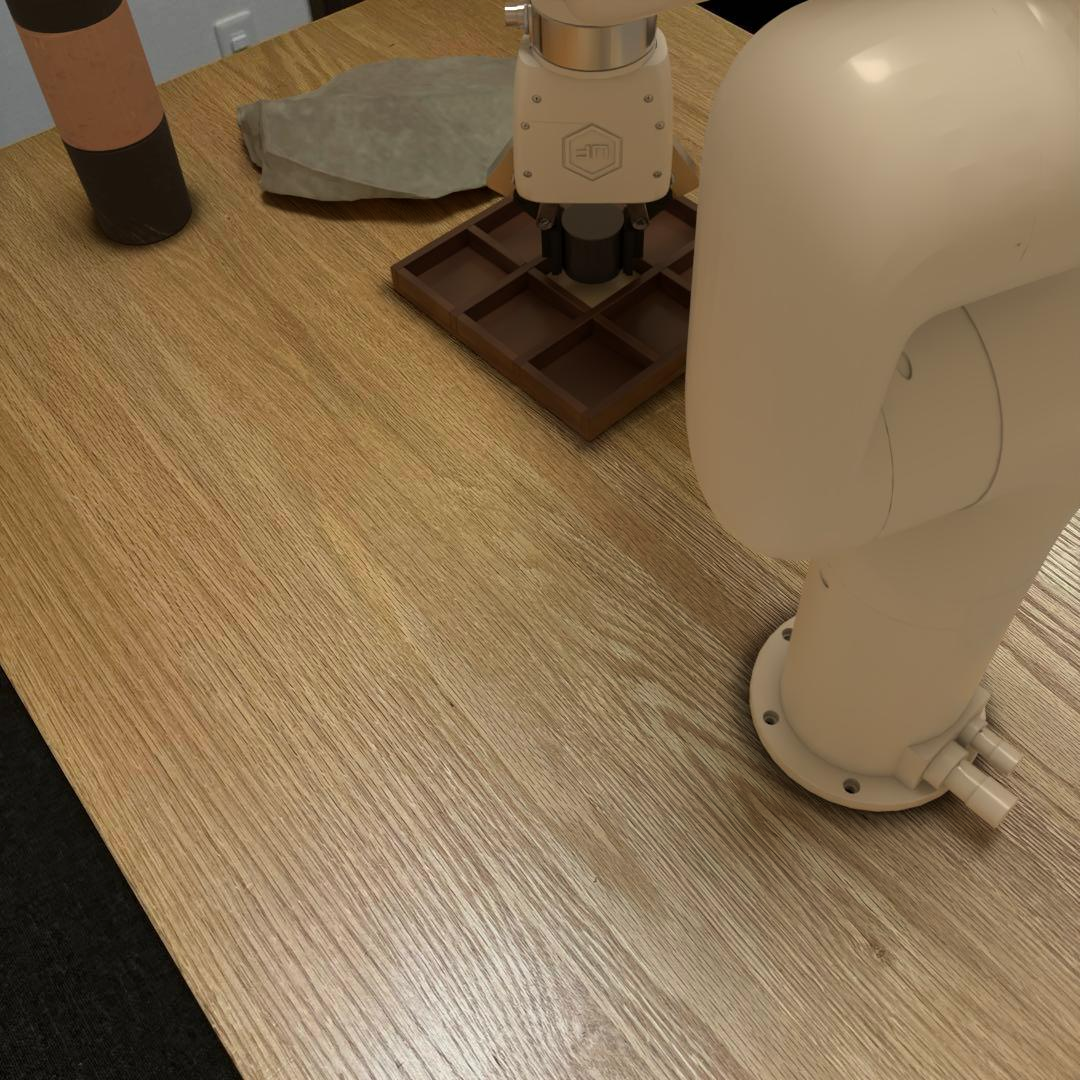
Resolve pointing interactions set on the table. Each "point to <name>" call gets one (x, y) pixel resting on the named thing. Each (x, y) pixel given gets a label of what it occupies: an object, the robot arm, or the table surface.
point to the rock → (386, 130)
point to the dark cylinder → (592, 242)
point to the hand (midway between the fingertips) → (592, 260)
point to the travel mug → (107, 113)
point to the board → (561, 311)
